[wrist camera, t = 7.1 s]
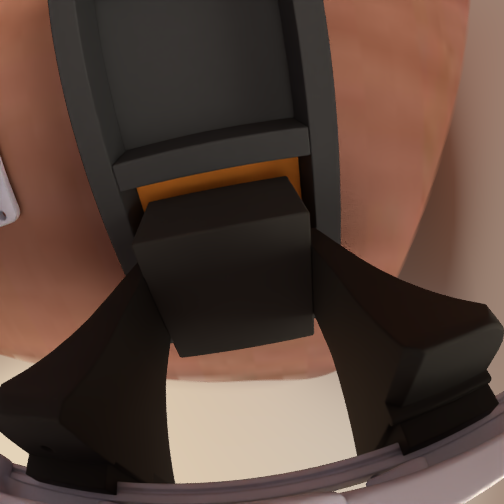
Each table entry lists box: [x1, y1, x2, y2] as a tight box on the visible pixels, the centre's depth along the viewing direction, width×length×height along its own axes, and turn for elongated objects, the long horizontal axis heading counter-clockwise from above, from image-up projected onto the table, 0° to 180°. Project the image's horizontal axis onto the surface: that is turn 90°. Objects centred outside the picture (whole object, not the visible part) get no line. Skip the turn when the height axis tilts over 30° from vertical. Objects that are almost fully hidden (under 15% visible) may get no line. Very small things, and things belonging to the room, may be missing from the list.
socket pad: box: [48, 0, 341, 343], centre depth 11 cm, size 8×16×2 cm, turn 8°
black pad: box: [131, 176, 314, 358], centre depth 11 cm, size 5×5×3 cm
